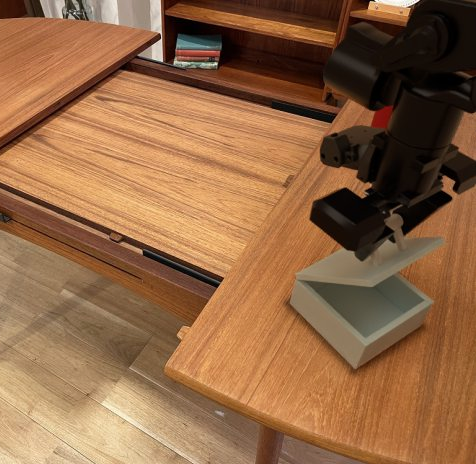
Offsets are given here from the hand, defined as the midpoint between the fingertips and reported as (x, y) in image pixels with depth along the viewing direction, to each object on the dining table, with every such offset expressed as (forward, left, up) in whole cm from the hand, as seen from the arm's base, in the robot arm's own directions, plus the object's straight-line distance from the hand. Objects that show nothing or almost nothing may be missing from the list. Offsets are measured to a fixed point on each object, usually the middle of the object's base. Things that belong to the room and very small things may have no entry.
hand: (375, 249), depth 58 cm
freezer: (0, 0, -12) cm, 12 cm away
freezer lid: (0, 0, -3) cm, 3 cm away
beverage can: (+11, -38, -12) cm, 42 cm away
